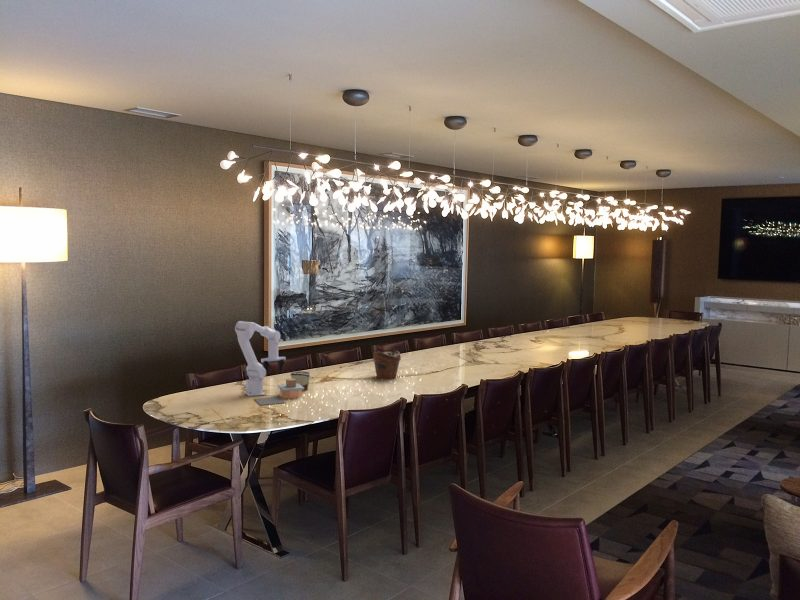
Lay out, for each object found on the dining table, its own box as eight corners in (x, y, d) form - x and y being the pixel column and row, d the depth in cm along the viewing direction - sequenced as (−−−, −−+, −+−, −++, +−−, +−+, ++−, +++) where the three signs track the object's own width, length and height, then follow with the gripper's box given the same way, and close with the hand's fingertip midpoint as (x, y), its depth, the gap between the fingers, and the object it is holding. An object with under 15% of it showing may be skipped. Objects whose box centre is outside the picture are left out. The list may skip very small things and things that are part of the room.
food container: (313, 388, 385) (313, 371, 384) (309, 390, 379) (309, 373, 378) (294, 386, 388) (294, 370, 387) (290, 388, 382) (290, 372, 381)
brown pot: (402, 374, 430) (402, 347, 428) (399, 380, 410) (399, 352, 409) (375, 373, 432) (375, 347, 430) (371, 380, 412) (371, 352, 410)
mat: (260, 405, 343) (260, 404, 343) (254, 399, 355) (254, 398, 355) (285, 403, 349) (285, 402, 349) (279, 397, 361) (279, 396, 361)
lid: (283, 391, 357) (283, 382, 356) (277, 386, 367) (277, 378, 367) (304, 389, 362) (304, 380, 361) (298, 385, 373) (298, 376, 372)
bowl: (283, 399, 357) (283, 391, 357) (278, 394, 368) (278, 386, 368) (303, 397, 362) (303, 389, 362) (297, 392, 373) (297, 385, 372)
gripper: (263, 352, 372) (263, 375, 373) (287, 350, 379) (287, 373, 381) (259, 350, 378) (259, 373, 379) (283, 348, 385) (283, 371, 387)
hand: (273, 373), depth 380 cm, fingers open, 7 cm apart
